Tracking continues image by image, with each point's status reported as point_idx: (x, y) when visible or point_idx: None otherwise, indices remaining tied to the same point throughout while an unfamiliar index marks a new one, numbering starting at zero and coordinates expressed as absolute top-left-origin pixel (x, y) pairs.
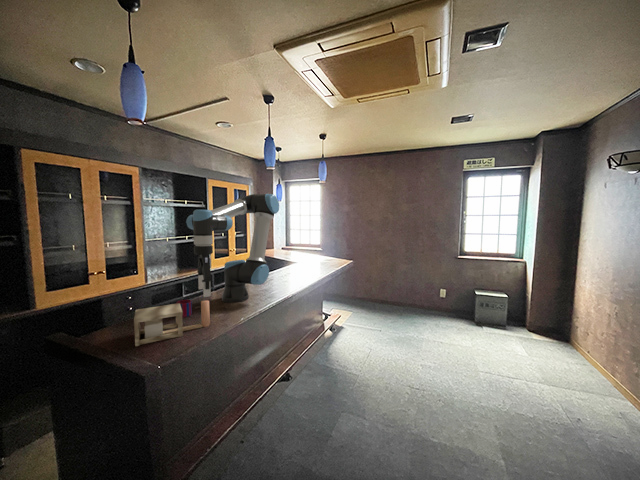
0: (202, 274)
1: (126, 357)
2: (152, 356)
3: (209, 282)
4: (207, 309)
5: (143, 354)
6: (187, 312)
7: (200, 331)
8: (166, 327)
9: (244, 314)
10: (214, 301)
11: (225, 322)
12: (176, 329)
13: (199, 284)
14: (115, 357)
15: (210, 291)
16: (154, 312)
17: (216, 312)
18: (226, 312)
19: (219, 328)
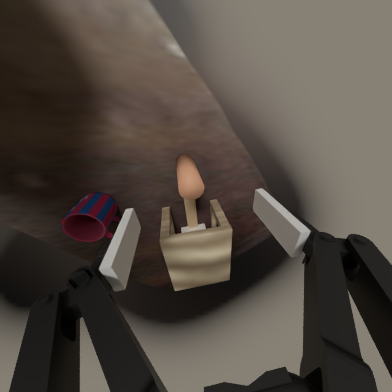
0: (103, 280)
1: (241, 245)
2: (257, 224)
3: (303, 229)
4: (198, 173)
5: (245, 233)
6: (110, 204)
7: (211, 173)
8: (173, 226)
9: (137, 25)
10: None
11: (186, 113)
12: (190, 211)
13: (135, 242)
14: (234, 253)
15: (273, 198)
16: (206, 267)
17: (93, 130)
18: (99, 96)
19: (217, 134)
